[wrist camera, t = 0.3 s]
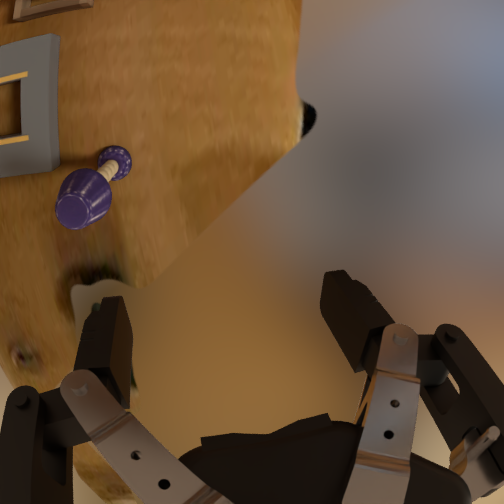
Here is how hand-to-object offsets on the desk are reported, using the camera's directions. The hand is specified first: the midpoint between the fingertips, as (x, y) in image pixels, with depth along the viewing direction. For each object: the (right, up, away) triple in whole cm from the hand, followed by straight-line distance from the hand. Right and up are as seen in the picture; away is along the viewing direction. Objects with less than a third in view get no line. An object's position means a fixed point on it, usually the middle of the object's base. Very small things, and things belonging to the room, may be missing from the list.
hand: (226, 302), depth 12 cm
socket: (-28, +19, +15) cm, 37 cm away
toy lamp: (-15, +13, +22) cm, 30 cm away
